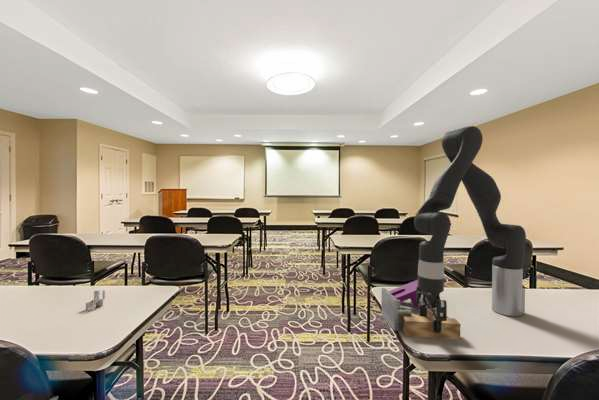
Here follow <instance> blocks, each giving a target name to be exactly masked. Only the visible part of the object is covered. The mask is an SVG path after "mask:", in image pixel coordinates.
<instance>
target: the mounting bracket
mask: <svg viewBox="0 0 599 400" xmlns="http://www.w3.org/2000/svg"><path fill="white" fill-rule="evenodd" d="M416 287H418V279H415V280H414V281H410V282H408V283H406V284H403V285H401V286H398V287H396V288H394V289H391V290H388V291H389V292H390V293H391V294H392V295H393V296H394V297H395V298H396V299H397V300H400V301H401V303H402V302H405V301H407V300H410V301H411V302H412V304H413V306H414V307H416V309H418V310H420V308H419V307H418V304H416ZM420 298H421V297H419V300H420ZM426 309H429V308H428V306H427V308H426Z"/></svg>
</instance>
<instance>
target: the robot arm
mask: <svg viewBox="0 0 599 400" xmlns="http://www.w3.org/2000/svg"><path fill="white" fill-rule="evenodd" d="M483 141H484V140H483V134H482V131H481V130H480V128H478V127H477V126H474V125H472V126H471V125H470V126H465V127H461V128H457V129H454V130H449V131H447V132H445V133H444V134H442V137H441V147H442V150H443V153H444V154H445V156H446V158H447V159H448V160H449V163H450V164H449V165H448V166H447V167H446V168H445V170H443V171H442V172H441V174H439V176H438V177H437V178H436V180H435V182H434V183H433V186H432V189H431V191H430V194H429V195H428V196H429V197H428V198H427V199H426V200H425V202H423V204H422V206H421V207H420V208H419V209H418V210H417V212H416V214H415V216H414V219H413V220H414V221H413V225H414V228H415V230H416V231H417V232H419V233H421V234H429V235H432V236H431V238H430V240H424V241H421V242H420V243H419V246H418V265H417V280H418V287H416V304H418V307H419V308H420V309H419V315H418V316H423V317H427V309H426V308H427V306H428V308H429V311H430V312H431V313H432V316H433V319H434V320H433V331H434V332H435V333H440V332H441V325H442V321H447V316H448V315H447V314H448V313H447V312H448V311H447V310H448V309H447V308H448V307H447V305H448V304H447V300H445V299H441V296H440V294H441V293H443V292H444V290H445V264H444V263H445V262H444V255H445V252H444V251H445V250H444V249H445V247H446V246H445V245H446V242H447V239H448V236H449V233H450V231H451V226H452V224H451V220H450V217H449V215H447V213H445V212H443V211H445V210H448V209H450V208H451V207H452V205H453V202H454V200H455V197H456V194H457V193H458V189H459V186H460V184H461V182H462V184H463V186H464V189H465V190H466V192H467V194H468V196H469V199H470V201H471V202H472V204H473V207H474V208H475V210H476V213H477V214H478V215H477V216H478V218H479V219H480V222H481V225H482V228H483V231H484V233H485V236H486V238H487V240H488V242H489V243H490V244H491V245H492V246H493V247H495V248H501V249H506V253H505V254H504V255H500V256H494V257H493V258H492V264H491V265H492V267H491V270H492V271H491V274H492V276H491V309H492V311H494V313H497V314H501V315H504V316H507V317H521V316H522V315H525V314H526V313H525V312H526V311H525V310H526V309H525V308H526V307H525V306H526V303H525V302H526V289H525V288H524V287H523V285H524V284H523V283H524V282H523V272H524V271H523V270H524V262H525V254H526V244H527V243H526V241H527V235H526V231H525V228H524V227H523V226H521V225H518V224H509V223H508V224H506V223H501V222H500V221H499V219H498V217H497V210H498V208H499V205H500V203H501V199H502V194H501V192H500V189H499V187H498V185H497V183H496V180H494V177H492V176H491V174H489V173H487V172H486V171H484V170H483V169H481V167H479V166H477V165H476V164H474V163H473V161H474V160H475V158H476V157H477V155H478V153H479V152H480V150H481V148H482V145H483ZM419 297H421V298H420V300H419ZM433 308H436V309H433ZM435 313H436V314H435ZM442 313H443V316H442Z"/></svg>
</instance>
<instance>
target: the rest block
mask: <svg viewBox="0 0 599 400" xmlns="http://www.w3.org/2000/svg"><path fill="white" fill-rule="evenodd" d="M433 309H436V308H433ZM435 314H436V313H435ZM442 316H443V313H442ZM427 317H433V316H432V313H431V312H430V311H429V309H427ZM447 318H450V317H449V316H448V315H447Z"/></svg>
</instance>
